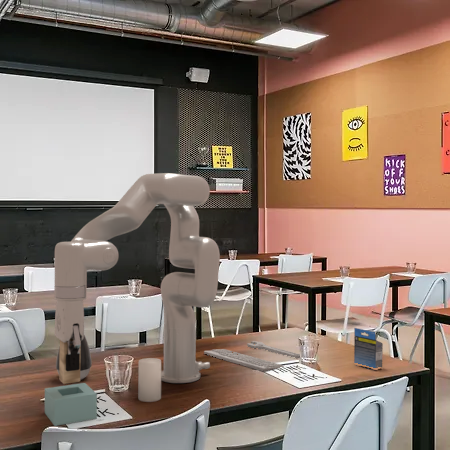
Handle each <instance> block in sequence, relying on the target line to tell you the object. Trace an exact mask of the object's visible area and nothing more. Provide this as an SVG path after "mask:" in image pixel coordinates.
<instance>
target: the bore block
mask: <svg viewBox="0 0 450 450" xmlns="http://www.w3.org/2000/svg"><path fill="white" fill-rule="evenodd" d="M97 402H98V393H97V392H96V391H95V390H93V389H92V388H91V387H90V386H89V385H88V384H87V383H86V382H79V383H72V384H68V385H67V384H66V385H60V386H53V387H45V388H44V414H45V416H47V418H48V419H49V420H50V423H52V425H53V426H54V427H56V426H57V427H58V426H63V425H69V424H75V423H79V422H86V421H90V420H96V419H97V418H98V417H97V416H98V413H97V410H98V407H97V405H98V403H97Z"/></svg>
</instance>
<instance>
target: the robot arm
mask: <svg viewBox="0 0 450 450" xmlns="http://www.w3.org/2000/svg"><path fill="white" fill-rule="evenodd" d="M210 190H211V189H210V185H209V183H208V182H207V180H206V179H205V178H204V177H201V176H200V175H199V176H198V175H189V174H180V173H171V172H170V173H169V172H164V173H163V172H159V173H146V174H143V175H141V176H139V178H137V180H136V181H135V182H134V183H133V184H132V185H131V186H130V187H129V189H128V190H127V191H126V192H125V193H124V195H123V196H122V197H121V198H120V199H119V201H118V202H117V203H116V204H115V205H114V206H113V207H111V208H110V209H108V210H106V211H104V212H103V213H101V214H100V215H98V216H96V217H94V218H93V219H92V220H90V221H89V222H87V223H86V224H85V225H84V226H83V227H82V228H81V229H80V230H79V231H78V232H77V233H76V234H75V236H73V238H72V239H71V241H60V242H58V243H56V245H55V247H54V291H53V292H54V298H53V299H54V300H55V301H56V304H55V311H54V312H55V315H54V316H55V317H54V318H55V319H54V332H53V333H54V336H55V337H56V338H57V339H58V340H59V341H60V340H61V341H62V342H64V343H65V342H66V341H67V354H66V371H74V370H79V369H80V345H81V342H80V341H82V340H83V338H84V335H85V310H84V300H86V299H87V290H88V289H87V287H88V285H87V281H88V280H87V278H88V277H87V274H88V272H87V271H89V270H90V271H107V270H110V269H111V268H113V267H115V265H117V263H118V261H119V251H118V248H117V246H115V245H114V244H113V243H112V242H111V241H108V240H111V239H113V238H115V237H117V236H121V235H124V234H127V233H131V232H132V231H134V230H137V229H138V228H139V227H140V226H141V225H142V224H143V222H144V221H145V220H146V219H147V217H148V216H149V215H150V214H151V213H152V212H153V210H154V209H155V207H157V205H163V206H164V207H165V208H166V210H167V213H168V214H169V217H170V222H171V223H170V225H171V226H170V235H169V237H170V238H169V248H168V249H169V250H168V259H169V262H170V263H171V265H173V266H174V267H177V268H183V269H189V270H190V269H193V270H194V273H192V272H182V271H174V272H171V273H168V274H166V275H165V276H164V277H163V279H162V280H161V283H160V295H161V301H162V306H163V307H162V308H163V370H161V382H165V383H170V384H186V383H187V384H188V383H193V382H196V381H198V380H199V379H200V378H201V376H202V375H201V372H200V371H202V370H207V369H210V367H211V363H210V361H205V362H202V361H197V360H196V351H197V349H196V342H197V341H196V337H197V333H196V332H197V327H196V326H197V319H196V314H195V311H194V309H193V307H197V308H208V307H210V306H212V305H213V304H214V302H215V300H216V297H217V293H218V284H219V272H220V262H221V261H220V260H221V259H220V258H221V255H220V254H221V253H220V248H219V246H218V243H216V241H215V240H214V239H212V238H210V237H206V236H200V219H199V218H200V217H199V214H198V213H197V210H196V208H195V207H197V206H202V205H204V204H205V203H206V202H207V201H208V199H209V197H210V193H211V191H210ZM194 206H195V207H194ZM71 338H73V340H74V341H69V340H70V339H71ZM72 343H73V345H71V348H70V344H72Z"/></svg>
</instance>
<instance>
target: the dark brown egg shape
mask: <svg viewBox="0 0 450 450" xmlns="http://www.w3.org/2000/svg"><path fill="white" fill-rule="evenodd" d="M91 356H92V355H91V350H90V346H89V344H88V341H87V338H86V336H85V334H84V338H83V340H82V341H81V351H80V381H81V380H83V379H85V378H86V377H87V376H88V375H89V373H90V371H91V368H92V364H93V363H92V357H91ZM55 361H56V362H55V369H56V371H57V373H58V375H59V361H60V345H59V347H58V350H57V353H56V360H55Z"/></svg>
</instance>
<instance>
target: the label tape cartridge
mask: <svg viewBox="0 0 450 450" xmlns="http://www.w3.org/2000/svg"><path fill="white" fill-rule="evenodd" d="M353 334H354V338H353V339H354V340H353V341H354V346H353V347H354V351H353V352H354V353H353V354H354V356H353V357H354V360H353V361H354V363H358V364H362V365H366V366H369V367H373V368H378V367H382V368H383V352H384V350H383V343H382V342H381V341H378V340H377V337H376V331H371V330H366V329H362V328H357V327H354V333H353ZM354 363H353V364H354Z"/></svg>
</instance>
